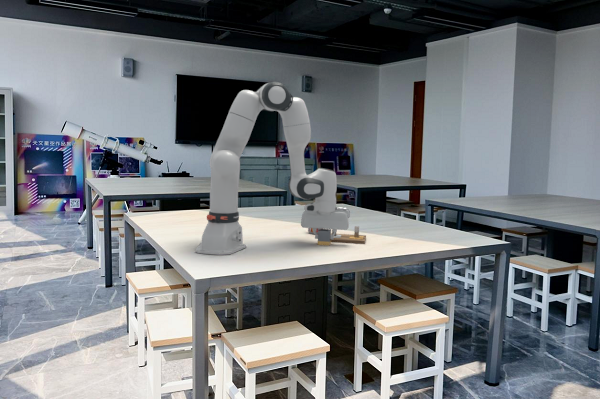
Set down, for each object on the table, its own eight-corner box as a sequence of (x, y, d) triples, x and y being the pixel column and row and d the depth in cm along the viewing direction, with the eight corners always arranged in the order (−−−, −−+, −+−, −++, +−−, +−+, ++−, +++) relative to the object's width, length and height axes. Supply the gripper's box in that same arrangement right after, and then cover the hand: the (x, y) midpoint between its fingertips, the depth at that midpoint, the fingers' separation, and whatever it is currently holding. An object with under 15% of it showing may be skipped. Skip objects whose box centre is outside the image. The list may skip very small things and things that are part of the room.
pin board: (364, 244, 214) (365, 229, 214) (323, 241, 217) (323, 227, 216) (365, 238, 228) (366, 224, 227) (326, 235, 231) (327, 222, 230)
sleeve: (329, 245, 209) (329, 231, 209) (317, 244, 210) (318, 230, 209) (330, 243, 214) (331, 229, 213) (319, 242, 215) (319, 228, 214)
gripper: (350, 207, 212) (349, 239, 213) (303, 204, 215) (302, 236, 217) (349, 208, 206) (348, 241, 207) (300, 206, 209) (299, 239, 210)
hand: (324, 239), depth 212 cm, fingers closed on sleeve, 5 cm apart
